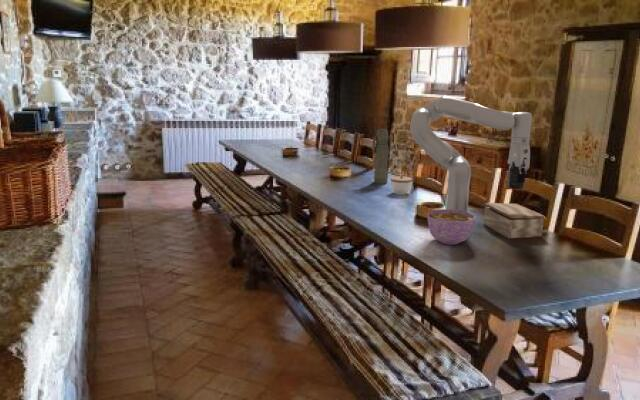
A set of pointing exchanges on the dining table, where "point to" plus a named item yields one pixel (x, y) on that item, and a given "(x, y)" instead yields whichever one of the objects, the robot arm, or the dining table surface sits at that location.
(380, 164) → the thermos
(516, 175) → the supplement bottle
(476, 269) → the dining table surface
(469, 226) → the bowl of food
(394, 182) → the lidded bowl
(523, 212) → the lid
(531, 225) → the box
